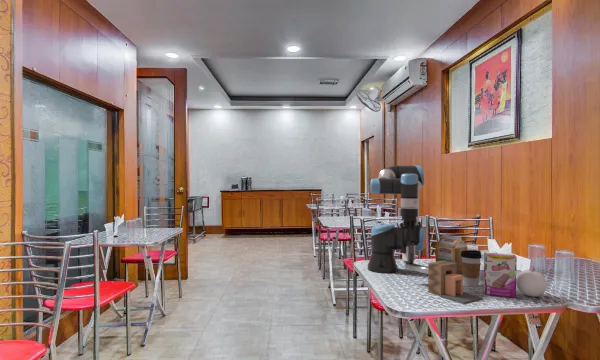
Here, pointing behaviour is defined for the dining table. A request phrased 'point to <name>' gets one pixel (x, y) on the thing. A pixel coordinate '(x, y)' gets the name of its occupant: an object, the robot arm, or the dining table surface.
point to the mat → (462, 298)
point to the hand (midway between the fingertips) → (408, 259)
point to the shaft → (410, 262)
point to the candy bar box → (500, 274)
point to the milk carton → (450, 250)
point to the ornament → (531, 282)
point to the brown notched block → (439, 275)
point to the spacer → (453, 284)
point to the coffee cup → (471, 267)
